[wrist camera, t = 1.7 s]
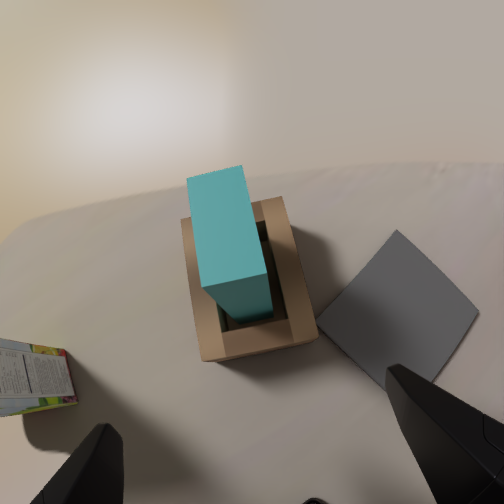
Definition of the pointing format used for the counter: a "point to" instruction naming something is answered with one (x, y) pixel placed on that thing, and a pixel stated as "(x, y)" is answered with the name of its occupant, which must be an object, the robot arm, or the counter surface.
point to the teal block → (229, 245)
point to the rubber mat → (398, 313)
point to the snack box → (33, 378)
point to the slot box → (281, 289)
